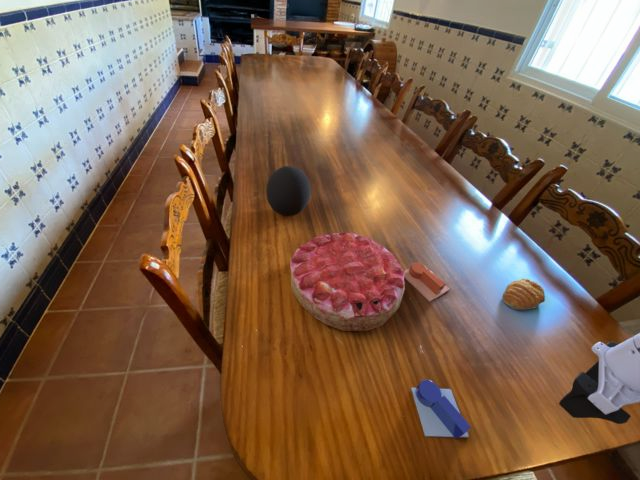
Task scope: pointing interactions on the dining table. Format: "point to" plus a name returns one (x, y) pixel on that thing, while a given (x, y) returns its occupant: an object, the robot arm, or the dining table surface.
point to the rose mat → (423, 287)
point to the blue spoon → (442, 408)
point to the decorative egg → (288, 191)
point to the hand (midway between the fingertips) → (579, 395)
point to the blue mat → (434, 417)
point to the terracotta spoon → (426, 277)
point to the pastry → (523, 294)
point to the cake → (347, 281)
